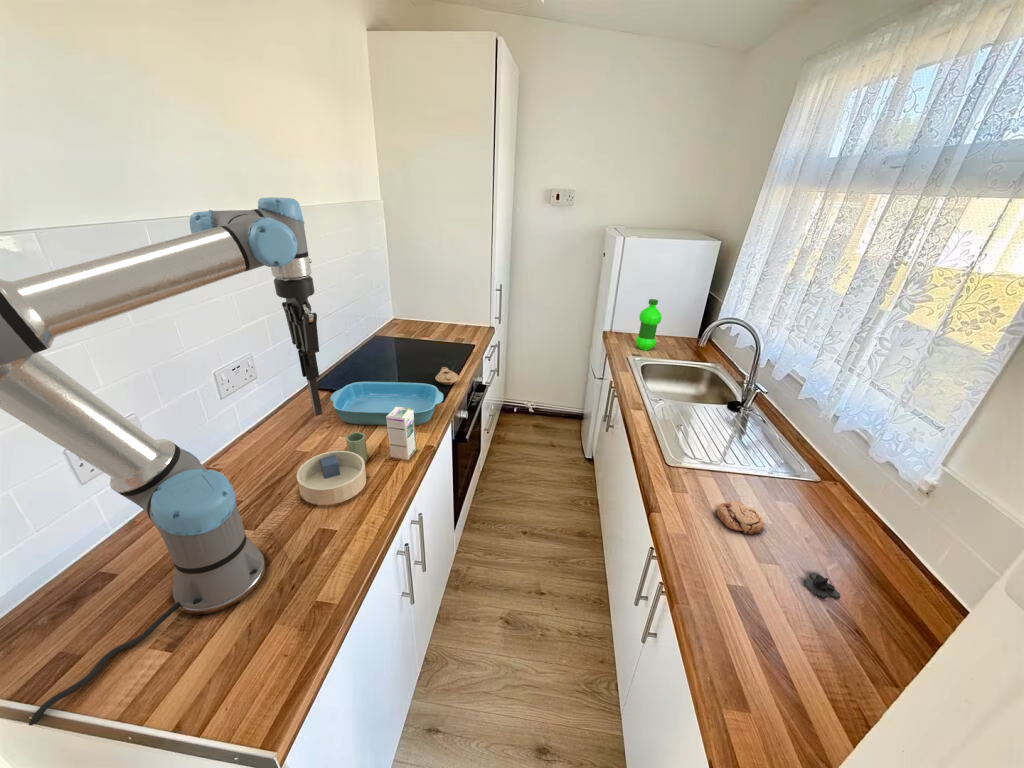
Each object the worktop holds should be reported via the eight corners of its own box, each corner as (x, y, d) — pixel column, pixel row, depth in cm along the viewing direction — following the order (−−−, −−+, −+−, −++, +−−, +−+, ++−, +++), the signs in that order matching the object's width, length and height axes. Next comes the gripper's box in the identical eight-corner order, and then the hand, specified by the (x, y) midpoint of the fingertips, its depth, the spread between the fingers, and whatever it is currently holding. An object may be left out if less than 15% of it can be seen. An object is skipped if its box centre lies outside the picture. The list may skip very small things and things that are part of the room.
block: (324, 479, 114) (322, 466, 112) (321, 470, 117) (319, 458, 115) (340, 474, 116) (338, 462, 114) (337, 466, 119) (335, 454, 117)
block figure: (801, 570, 92) (820, 565, 94) (797, 578, 93) (816, 573, 95) (826, 594, 87) (847, 588, 88) (822, 602, 88) (842, 596, 89)
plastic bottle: (630, 345, 222) (639, 297, 211) (650, 345, 223) (659, 297, 212) (637, 352, 213) (647, 302, 202) (658, 352, 214) (668, 303, 203)
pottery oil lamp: (454, 373, 179) (460, 361, 174) (454, 394, 170) (460, 382, 166) (433, 367, 175) (439, 355, 171) (432, 388, 167) (439, 376, 163)
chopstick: (316, 416, 106) (303, 347, 97) (313, 413, 107) (300, 345, 99) (322, 413, 107) (310, 346, 98) (320, 411, 108) (307, 344, 100)
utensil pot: (354, 468, 120) (351, 444, 116) (346, 460, 123) (342, 436, 119) (371, 461, 123) (368, 437, 120) (362, 453, 126) (359, 430, 123)
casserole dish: (445, 399, 159) (445, 381, 156) (441, 431, 139) (440, 412, 136) (343, 397, 156) (341, 380, 153) (323, 430, 136) (320, 410, 133)
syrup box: (408, 462, 123) (405, 418, 117) (389, 458, 124) (385, 415, 118) (416, 451, 129) (414, 408, 122) (398, 447, 130) (394, 405, 123)
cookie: (764, 540, 103) (768, 530, 101) (717, 527, 106) (720, 517, 105) (758, 513, 111) (762, 504, 110) (714, 501, 114) (717, 493, 113)
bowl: (316, 517, 102) (313, 499, 100) (290, 484, 112) (286, 467, 110) (378, 487, 113) (376, 470, 111) (348, 459, 123) (346, 443, 121)
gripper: (325, 280, 89) (340, 382, 100) (297, 268, 98) (313, 363, 109) (287, 285, 85) (307, 392, 95) (261, 272, 94) (282, 370, 104)
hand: (311, 376), depth 102 cm, fingers closed on chopstick, 2 cm apart
